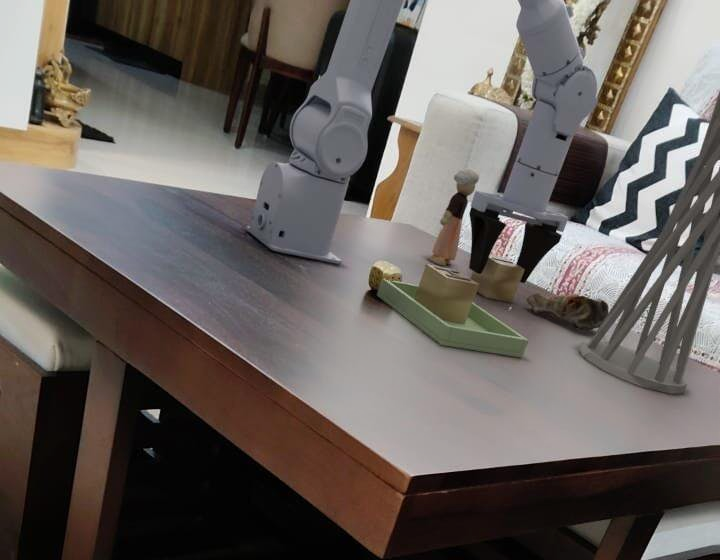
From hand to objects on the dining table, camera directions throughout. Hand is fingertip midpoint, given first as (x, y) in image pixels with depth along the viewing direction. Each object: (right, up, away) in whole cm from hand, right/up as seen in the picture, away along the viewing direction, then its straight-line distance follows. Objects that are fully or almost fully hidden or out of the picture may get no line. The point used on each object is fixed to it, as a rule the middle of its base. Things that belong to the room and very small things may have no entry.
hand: (497, 275), depth 131 cm
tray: (-8, -13, -21) cm, 26 cm away
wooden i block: (-1, -2, +1) cm, 3 cm away
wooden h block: (-9, -12, -20) cm, 25 cm away
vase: (+15, -16, -11) cm, 24 cm away
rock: (+9, -6, +1) cm, 11 cm away
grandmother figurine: (-7, +5, +10) cm, 13 cm away
